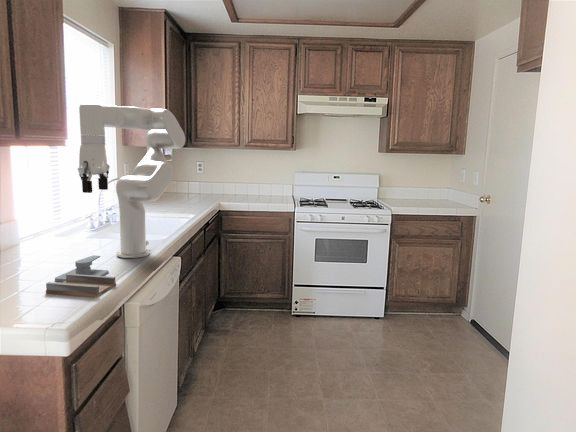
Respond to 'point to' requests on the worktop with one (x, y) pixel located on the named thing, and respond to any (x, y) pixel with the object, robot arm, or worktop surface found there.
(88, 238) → the worktop surface
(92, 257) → the shower valve
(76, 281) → the stand
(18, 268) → the worktop surface
